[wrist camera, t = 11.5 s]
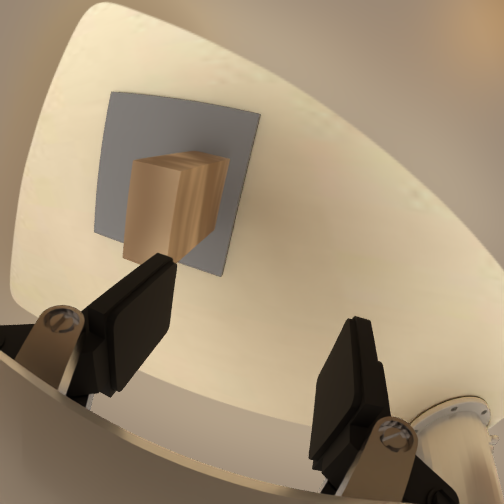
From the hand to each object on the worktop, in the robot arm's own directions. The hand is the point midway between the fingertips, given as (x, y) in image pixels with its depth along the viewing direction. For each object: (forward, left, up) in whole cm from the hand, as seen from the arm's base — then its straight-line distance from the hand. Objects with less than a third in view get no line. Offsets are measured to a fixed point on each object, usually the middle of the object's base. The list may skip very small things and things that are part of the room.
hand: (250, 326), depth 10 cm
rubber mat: (+12, 0, -15) cm, 19 cm away
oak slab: (+7, 0, -15) cm, 17 cm away
